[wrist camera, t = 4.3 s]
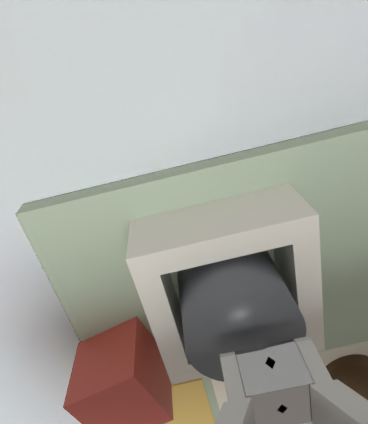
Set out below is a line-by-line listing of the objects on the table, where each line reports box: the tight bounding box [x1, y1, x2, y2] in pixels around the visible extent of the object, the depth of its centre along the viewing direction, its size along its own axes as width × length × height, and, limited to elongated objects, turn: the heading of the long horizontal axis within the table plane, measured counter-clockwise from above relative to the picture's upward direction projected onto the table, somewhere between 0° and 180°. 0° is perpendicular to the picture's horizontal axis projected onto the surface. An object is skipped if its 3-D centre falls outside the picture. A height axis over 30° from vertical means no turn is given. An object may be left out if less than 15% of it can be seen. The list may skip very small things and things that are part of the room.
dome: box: [177, 250, 306, 382], centre depth 14 cm, size 4×4×4 cm
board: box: [15, 121, 368, 424], centre depth 19 cm, size 17×20×1 cm
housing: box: [126, 182, 325, 384], centre depth 15 cm, size 7×7×3 cm
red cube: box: [63, 316, 173, 424], centre depth 17 cm, size 4×4×4 cm
